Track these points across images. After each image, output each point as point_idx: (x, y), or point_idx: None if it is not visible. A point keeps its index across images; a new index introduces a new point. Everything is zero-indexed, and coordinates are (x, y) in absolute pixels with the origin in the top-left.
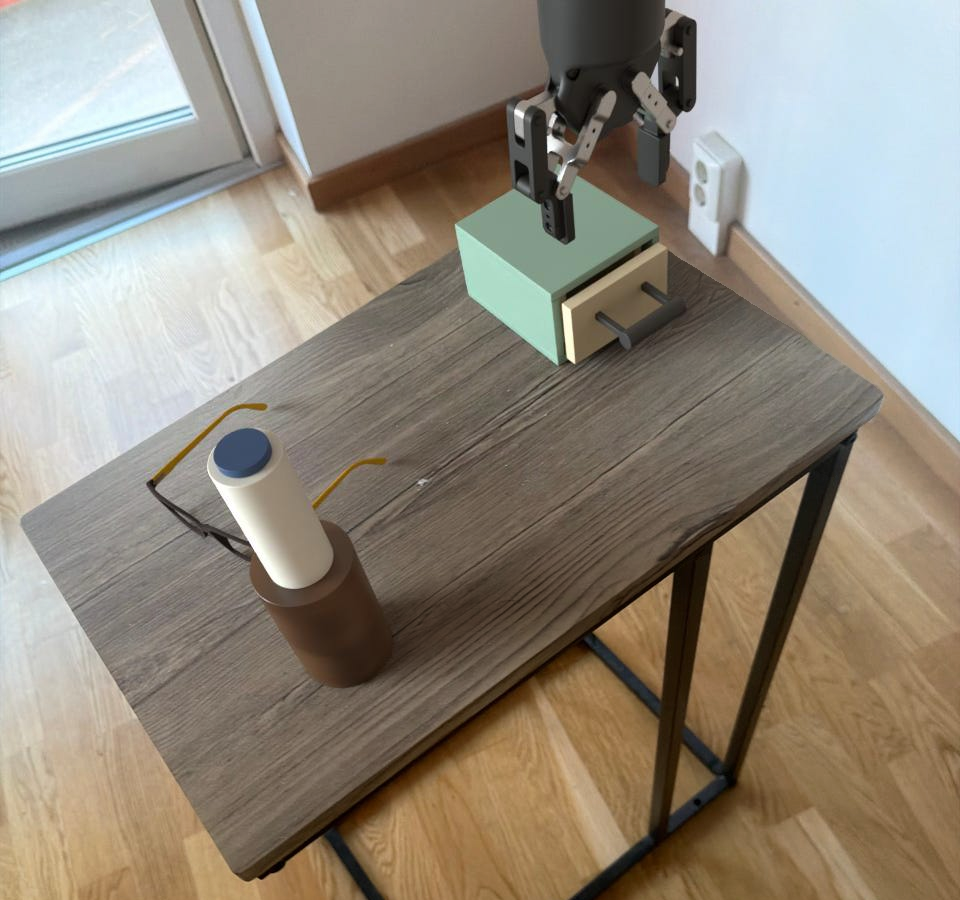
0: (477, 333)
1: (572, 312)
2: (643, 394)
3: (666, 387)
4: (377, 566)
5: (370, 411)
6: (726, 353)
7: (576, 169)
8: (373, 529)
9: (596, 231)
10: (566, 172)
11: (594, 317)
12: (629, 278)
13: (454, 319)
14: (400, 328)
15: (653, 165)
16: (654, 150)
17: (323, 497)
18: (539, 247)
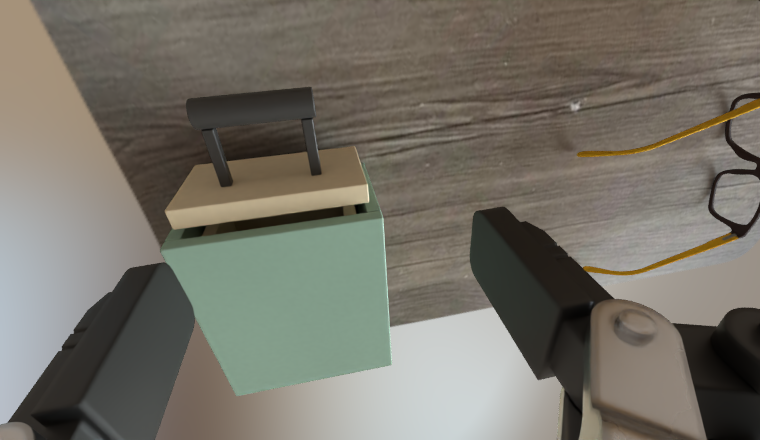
0: (399, 250)
1: (364, 181)
2: (303, 49)
3: (268, 37)
4: (690, 28)
5: (534, 219)
6: (149, 34)
7: (610, 398)
8: (650, 80)
9: (256, 285)
10: (685, 400)
11: (322, 172)
12: (250, 194)
13: (404, 275)
14: (446, 289)
15: (150, 321)
16: (124, 366)
17: (698, 127)
18: (338, 296)
